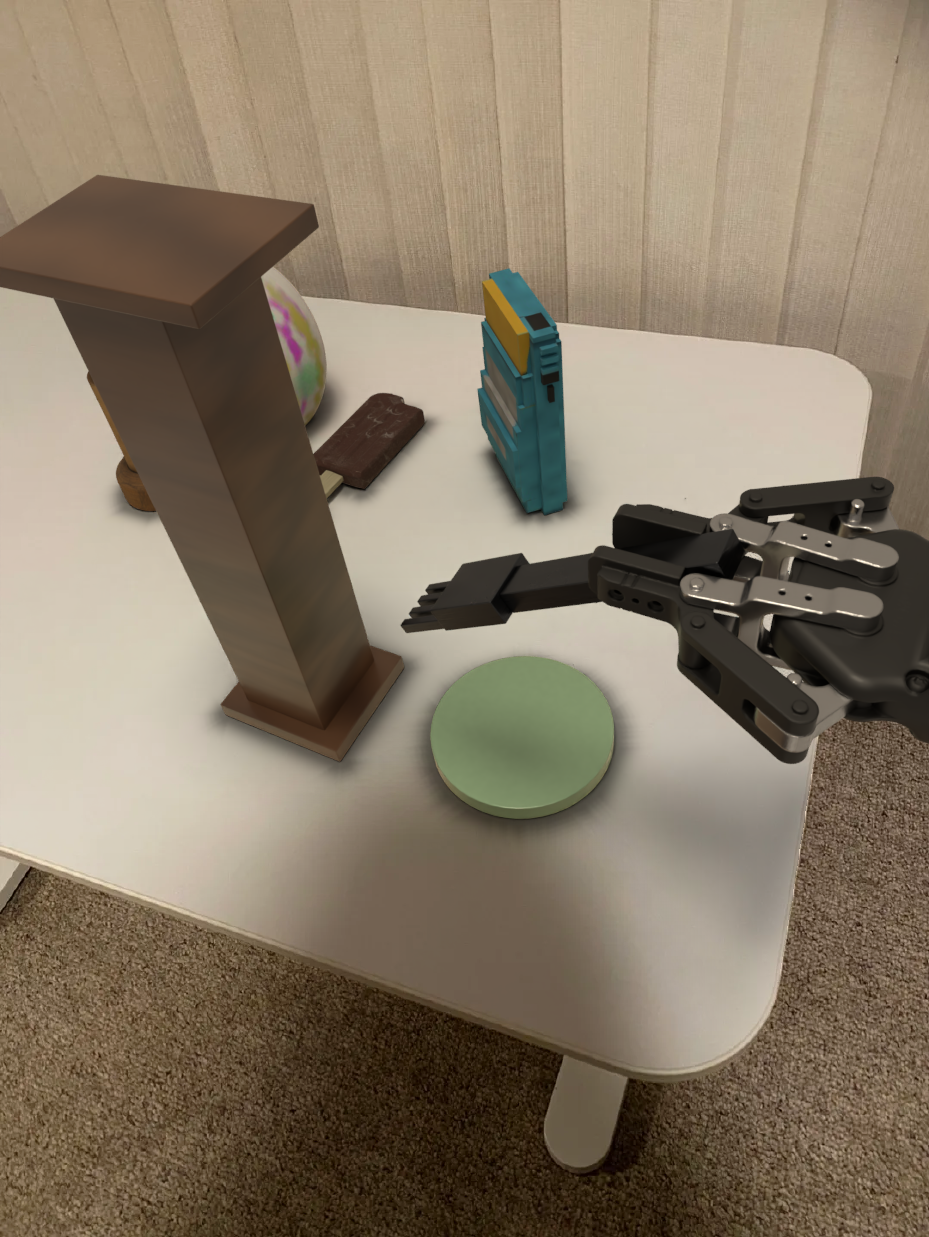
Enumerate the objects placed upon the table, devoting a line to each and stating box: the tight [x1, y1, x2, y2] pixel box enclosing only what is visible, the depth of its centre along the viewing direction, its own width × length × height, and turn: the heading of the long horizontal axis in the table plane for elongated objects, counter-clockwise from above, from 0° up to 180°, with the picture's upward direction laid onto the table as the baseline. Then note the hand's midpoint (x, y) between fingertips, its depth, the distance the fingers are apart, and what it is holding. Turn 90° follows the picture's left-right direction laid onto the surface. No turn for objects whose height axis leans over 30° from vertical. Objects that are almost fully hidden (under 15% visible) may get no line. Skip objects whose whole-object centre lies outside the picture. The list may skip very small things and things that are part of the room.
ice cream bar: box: [313, 392, 426, 499], centre depth 75 cm, size 5×2×15 cm
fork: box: [400, 529, 745, 634], centre depth 41 cm, size 3×18×1 cm, turn 62°
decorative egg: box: [261, 266, 328, 426], centre depth 76 cm, size 12×12×15 cm
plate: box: [429, 655, 615, 820], centre depth 56 cm, size 11×11×1 cm
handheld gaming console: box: [476, 267, 568, 516], centre depth 66 cm, size 10×4×15 cm, turn 17°
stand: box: [0, 174, 405, 762], centre depth 49 cm, size 8×12×31 cm, turn 62°
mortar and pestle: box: [86, 370, 157, 512], centre depth 70 cm, size 7×6×18 cm
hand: (605, 547), depth 38 cm, fingers closed on fork
